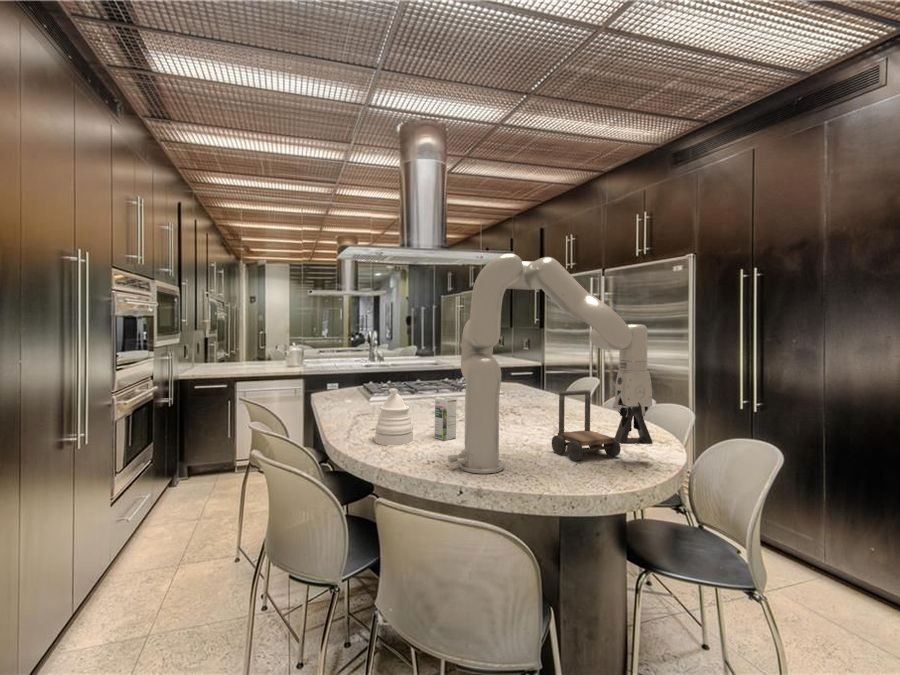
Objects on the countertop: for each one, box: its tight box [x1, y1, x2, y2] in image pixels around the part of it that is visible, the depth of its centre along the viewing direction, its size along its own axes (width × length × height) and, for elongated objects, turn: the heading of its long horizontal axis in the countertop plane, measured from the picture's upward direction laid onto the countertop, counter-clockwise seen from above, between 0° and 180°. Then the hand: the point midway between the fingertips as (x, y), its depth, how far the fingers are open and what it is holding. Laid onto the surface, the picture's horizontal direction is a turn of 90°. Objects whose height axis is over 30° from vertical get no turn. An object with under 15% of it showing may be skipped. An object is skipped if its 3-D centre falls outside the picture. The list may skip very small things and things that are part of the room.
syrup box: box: [433, 396, 458, 441], centre depth 163 cm, size 6×6×14 cm
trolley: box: [551, 389, 621, 462], centre depth 142 cm, size 15×14×19 cm
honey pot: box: [374, 388, 414, 446], centre depth 158 cm, size 13×13×18 cm
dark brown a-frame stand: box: [614, 402, 653, 445], centre depth 134 cm, size 9×6×12 cm, turn 84°
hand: (632, 429), depth 134 cm, fingers closed on dark brown a-frame stand, 3 cm apart
